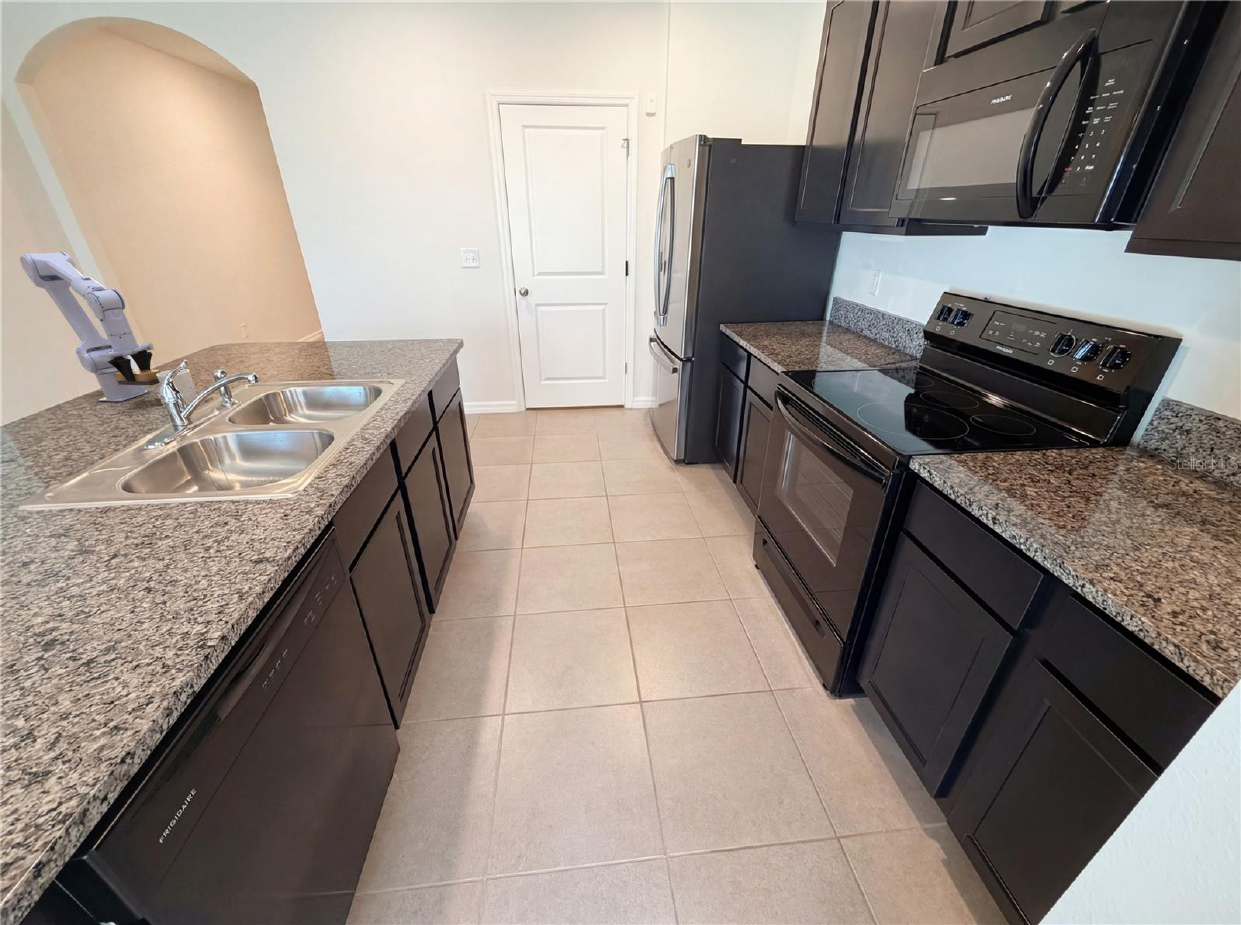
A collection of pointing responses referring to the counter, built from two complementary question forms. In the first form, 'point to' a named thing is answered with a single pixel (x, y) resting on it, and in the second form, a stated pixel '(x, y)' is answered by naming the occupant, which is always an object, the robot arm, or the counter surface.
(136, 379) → the scrub brush
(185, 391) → the white cup
